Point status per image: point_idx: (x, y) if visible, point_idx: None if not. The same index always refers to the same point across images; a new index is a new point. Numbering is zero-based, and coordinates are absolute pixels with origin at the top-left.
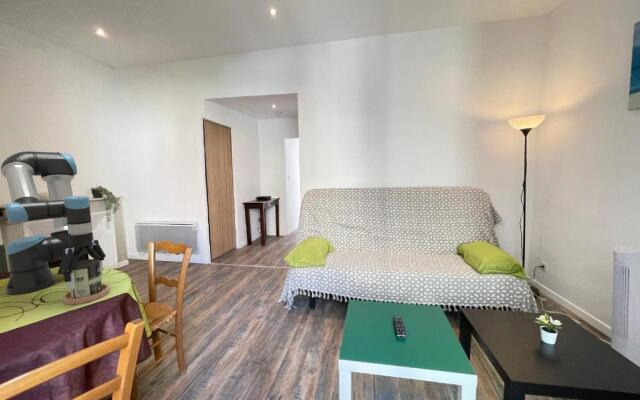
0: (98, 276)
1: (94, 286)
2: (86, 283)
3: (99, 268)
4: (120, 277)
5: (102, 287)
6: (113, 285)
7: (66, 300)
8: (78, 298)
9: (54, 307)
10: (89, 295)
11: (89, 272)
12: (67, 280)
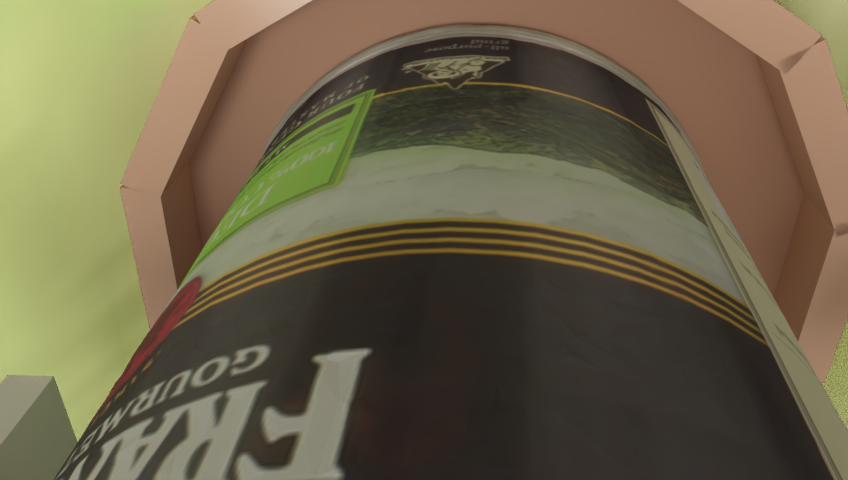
0: (406, 228)
1: (587, 123)
2: (767, 295)
3: (185, 477)
4: None
5: (192, 199)
6: (24, 101)
7: (825, 357)
8: (837, 196)
9: (839, 410)
10: (656, 111)
11: None
12: None
